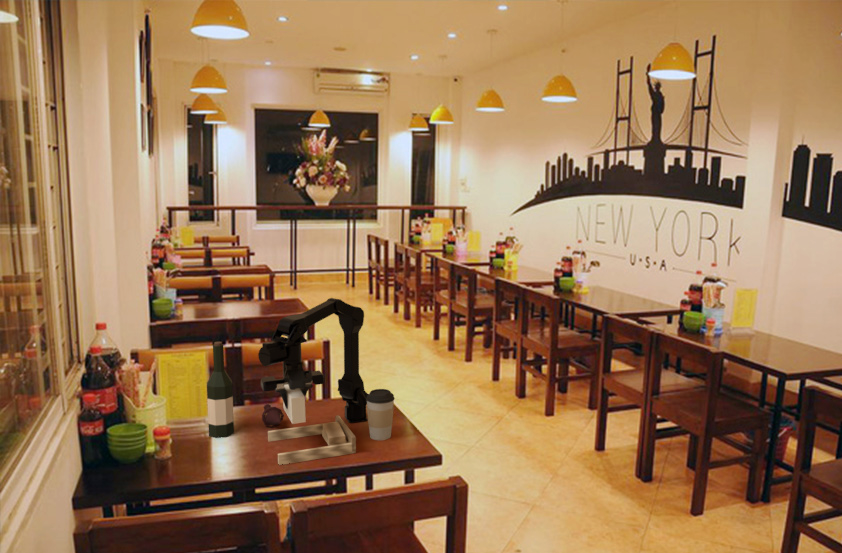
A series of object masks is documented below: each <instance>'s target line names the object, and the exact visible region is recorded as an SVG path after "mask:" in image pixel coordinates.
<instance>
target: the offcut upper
mask: <svg viewBox="0 0 842 553" xmlns="http://www.w3.org/2000/svg"><path fill="white" fill-rule="evenodd" d="M332 422H333V423H330V422H325V423H324V422H323V423H324V424H323V423H322V424H323V433H324V435H325V437H326V440H327V442H328V444H329V446H331V445H338V444H345V434H344V432H343V430H342V428H341V426H340V424H339V422H336V421H332ZM328 444H327V445H328Z"/></svg>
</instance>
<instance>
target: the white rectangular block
mask: <svg viewBox="0 0 842 553" xmlns="http://www.w3.org/2000/svg"><path fill="white" fill-rule="evenodd" d="M284 387H285V389H286V396H287V402H288V409H286V407H285V404H284V402H283V401H282V404H283V406H282V407H283V408H282V409H283V410H284V412H285V414H286V415H287V417H288V419H289V421H290V422H291V425H295V424H301V423H306V422H307V421H306V420H307V419H306V395H305V396H304V395H303V393H302V392H301V390H300V388H298V389H295V390H291V389H290V388H289V385H288V384H286V385H284Z"/></svg>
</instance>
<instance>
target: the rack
mask: <svg viewBox="0 0 842 553" xmlns="http://www.w3.org/2000/svg"><path fill="white" fill-rule="evenodd" d="M334 419H335V422H339V424H340V426H341V428H342V430H343V432H344V434H345V439H346V441H347V442H348V443H345V444H338V445H332V446H328V445H327V446H318V447H314V448H306V449H299V450H293V451H286V452H280V453H277V464H279V465H278V466H282V464H283V465H289V463H290V464H294V463H295V464H296V463H300V462H308V461H314V460H320V459H326V458H333V457H339V456H345V455H351V454H356V453H357V443H356V442H357V438H356V435H355V434H354V433H353V432H352V430H351V429H350V428H349V426H348V425H347V423H346V422H345V421H344V420H343V419H342V418H341V416H340V415H335V418H334ZM333 422H334V421H332V422H331V421H329V423H333ZM323 424H324V422H323V423H317V424H310V425H303V426H296V427H290V428H282V429H281V428H280V429H274V430H267V441H268V443H269V442H276V441H282V440H283V441H284V440H288V439H296V438H304V437H310V436H311V437H312V436H317V435H318V436H319V435H322V430H323Z"/></svg>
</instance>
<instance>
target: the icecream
mask: <svg viewBox="0 0 842 553" xmlns="http://www.w3.org/2000/svg"><path fill="white" fill-rule="evenodd" d="M263 409H264V410H263V412H262V414H261V420H262V423H263V425H264V426H265V427H267V428H268V427H269V428H272V429H273V428H274V427H275V428H276V427H278V426H280V424H281V423H282V421H283V420H284V417H285V415H284V413H283V411H282V409H280V408H279V407H276V406H272V405H271V404H269V403H266V404H264V406H263Z"/></svg>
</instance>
